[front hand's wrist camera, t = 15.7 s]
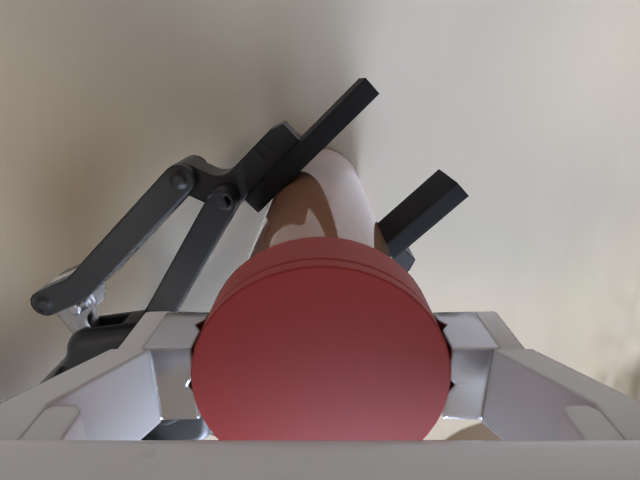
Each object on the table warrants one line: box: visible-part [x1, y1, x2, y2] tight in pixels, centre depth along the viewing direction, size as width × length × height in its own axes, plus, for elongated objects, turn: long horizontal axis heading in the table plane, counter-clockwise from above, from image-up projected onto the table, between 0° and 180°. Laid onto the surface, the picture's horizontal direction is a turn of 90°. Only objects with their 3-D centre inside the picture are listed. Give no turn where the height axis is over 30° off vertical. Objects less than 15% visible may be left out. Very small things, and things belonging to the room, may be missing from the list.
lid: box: [191, 237, 451, 440], centre depth 9 cm, size 5×5×2 cm
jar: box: [246, 149, 393, 261], centre depth 17 cm, size 5×5×16 cm
